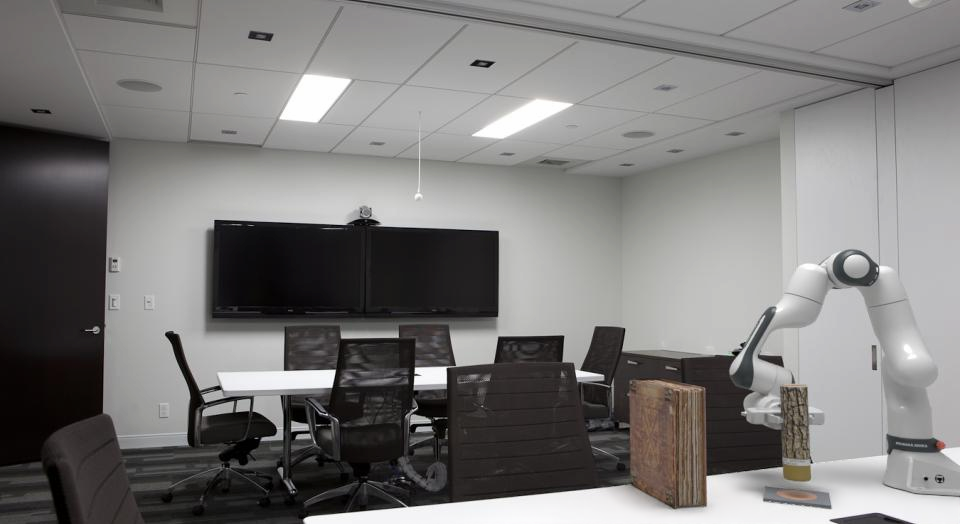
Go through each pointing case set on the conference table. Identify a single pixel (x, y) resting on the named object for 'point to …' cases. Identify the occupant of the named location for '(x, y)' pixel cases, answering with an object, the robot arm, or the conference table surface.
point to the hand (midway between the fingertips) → (796, 421)
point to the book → (668, 441)
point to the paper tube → (795, 432)
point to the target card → (797, 497)
